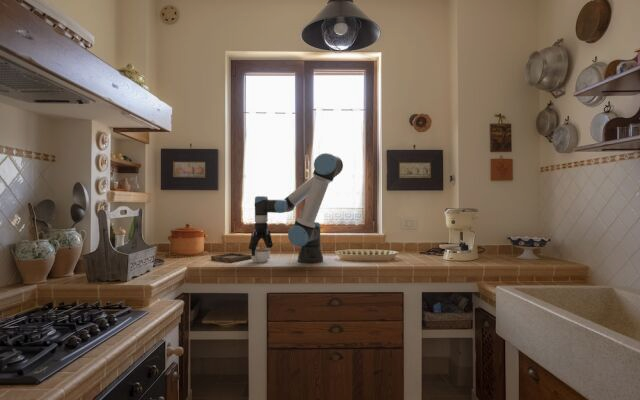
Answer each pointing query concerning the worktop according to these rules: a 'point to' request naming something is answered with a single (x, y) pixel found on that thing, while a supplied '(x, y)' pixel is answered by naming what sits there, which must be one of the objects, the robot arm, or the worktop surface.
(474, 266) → the worktop surface
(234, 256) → the walnut tray
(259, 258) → the lidded jar
